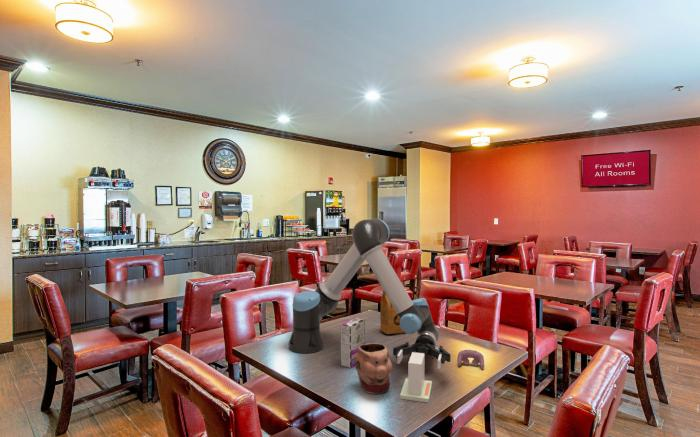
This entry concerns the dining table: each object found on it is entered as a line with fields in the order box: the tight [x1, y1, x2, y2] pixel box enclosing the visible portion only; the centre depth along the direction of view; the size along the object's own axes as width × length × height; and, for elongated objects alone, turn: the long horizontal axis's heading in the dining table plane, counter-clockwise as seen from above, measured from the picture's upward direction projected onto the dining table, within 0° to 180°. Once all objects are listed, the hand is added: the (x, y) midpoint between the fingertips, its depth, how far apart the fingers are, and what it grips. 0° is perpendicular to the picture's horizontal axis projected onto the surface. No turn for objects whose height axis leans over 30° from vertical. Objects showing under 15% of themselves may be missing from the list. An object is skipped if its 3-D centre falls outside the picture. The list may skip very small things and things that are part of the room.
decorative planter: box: [354, 342, 394, 395], centre depth 133 cm, size 20×12×14 cm, turn 23°
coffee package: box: [379, 290, 406, 335], centre depth 190 cm, size 10×12×22 cm
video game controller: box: [456, 349, 485, 370], centre depth 151 cm, size 10×5×7 cm, turn 73°
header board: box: [399, 377, 433, 403], centre depth 130 cm, size 9×13×6 cm
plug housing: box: [407, 351, 426, 395], centre depth 130 cm, size 10×4×10 cm, turn 163°
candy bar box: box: [340, 316, 366, 369], centre depth 153 cm, size 11×5×16 cm, turn 148°
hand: (418, 362), depth 131 cm, fingers open, 13 cm apart
